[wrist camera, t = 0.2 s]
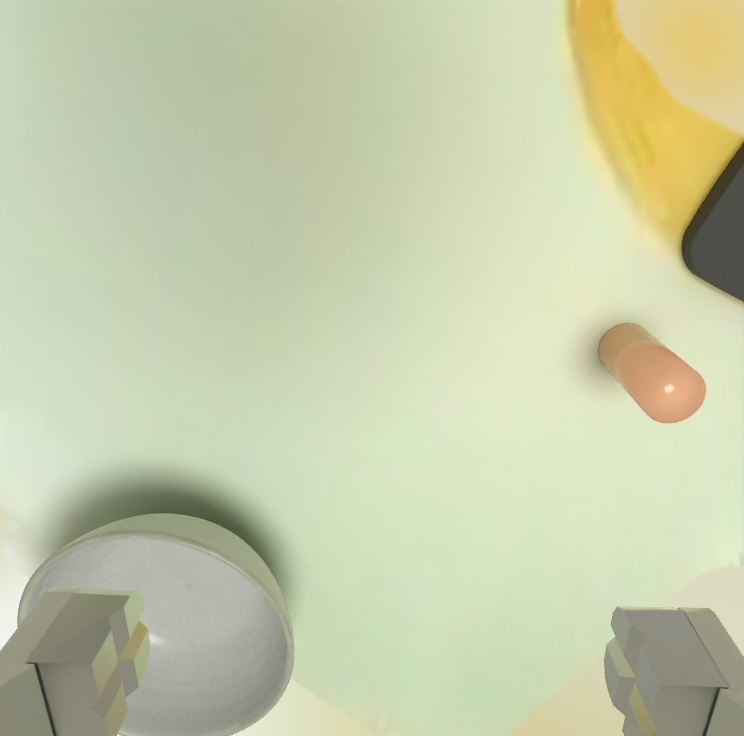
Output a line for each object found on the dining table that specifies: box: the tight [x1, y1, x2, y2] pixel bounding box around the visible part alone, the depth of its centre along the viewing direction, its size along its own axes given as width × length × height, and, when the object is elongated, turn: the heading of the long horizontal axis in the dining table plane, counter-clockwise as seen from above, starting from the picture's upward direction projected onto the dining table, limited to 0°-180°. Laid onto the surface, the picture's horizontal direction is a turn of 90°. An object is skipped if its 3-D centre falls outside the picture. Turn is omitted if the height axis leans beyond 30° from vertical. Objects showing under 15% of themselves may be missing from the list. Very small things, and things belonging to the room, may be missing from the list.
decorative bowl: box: [18, 513, 294, 736], centre depth 65 cm, size 27×27×12 cm
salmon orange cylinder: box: [598, 323, 706, 423], centre depth 54 cm, size 5×5×11 cm
